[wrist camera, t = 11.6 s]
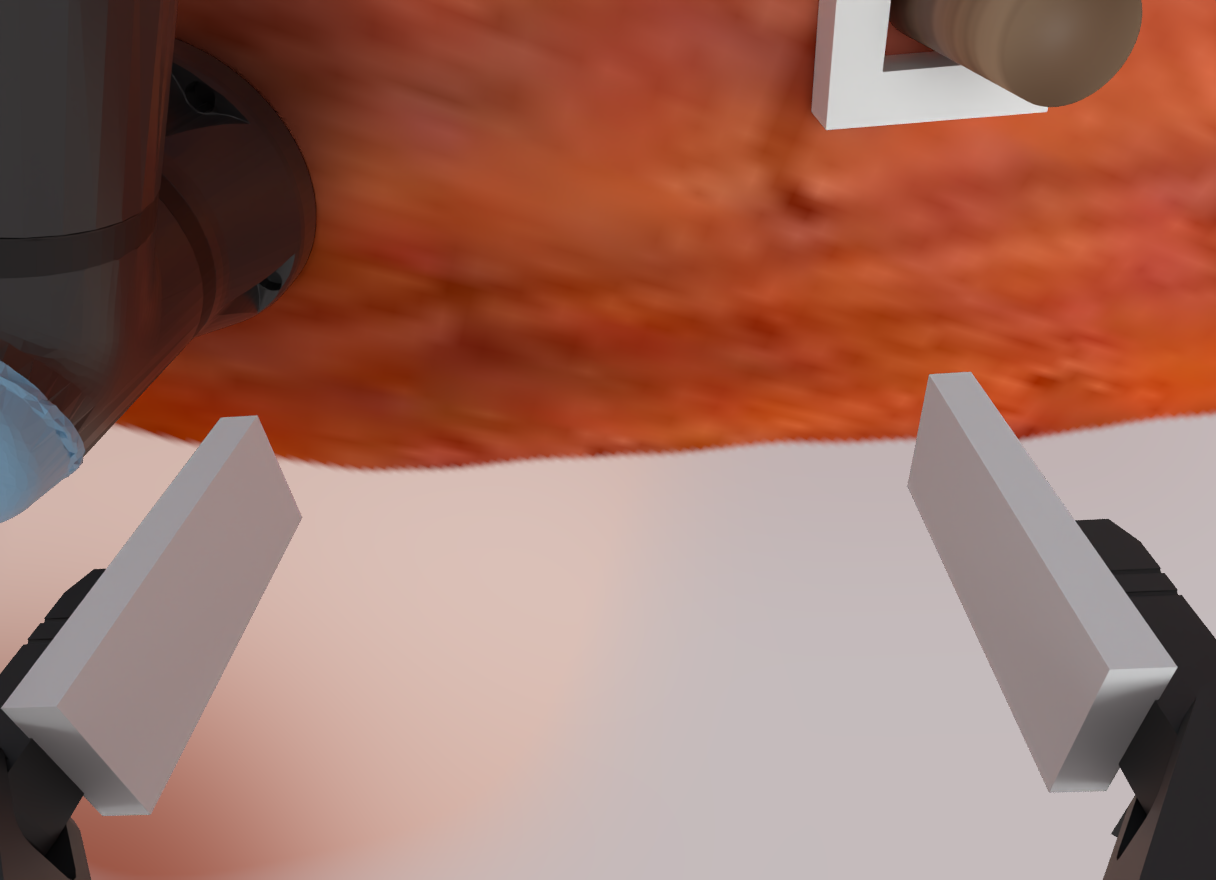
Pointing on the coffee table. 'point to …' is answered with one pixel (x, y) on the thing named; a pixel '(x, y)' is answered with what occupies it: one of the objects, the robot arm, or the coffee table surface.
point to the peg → (1028, 41)
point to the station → (892, 76)
